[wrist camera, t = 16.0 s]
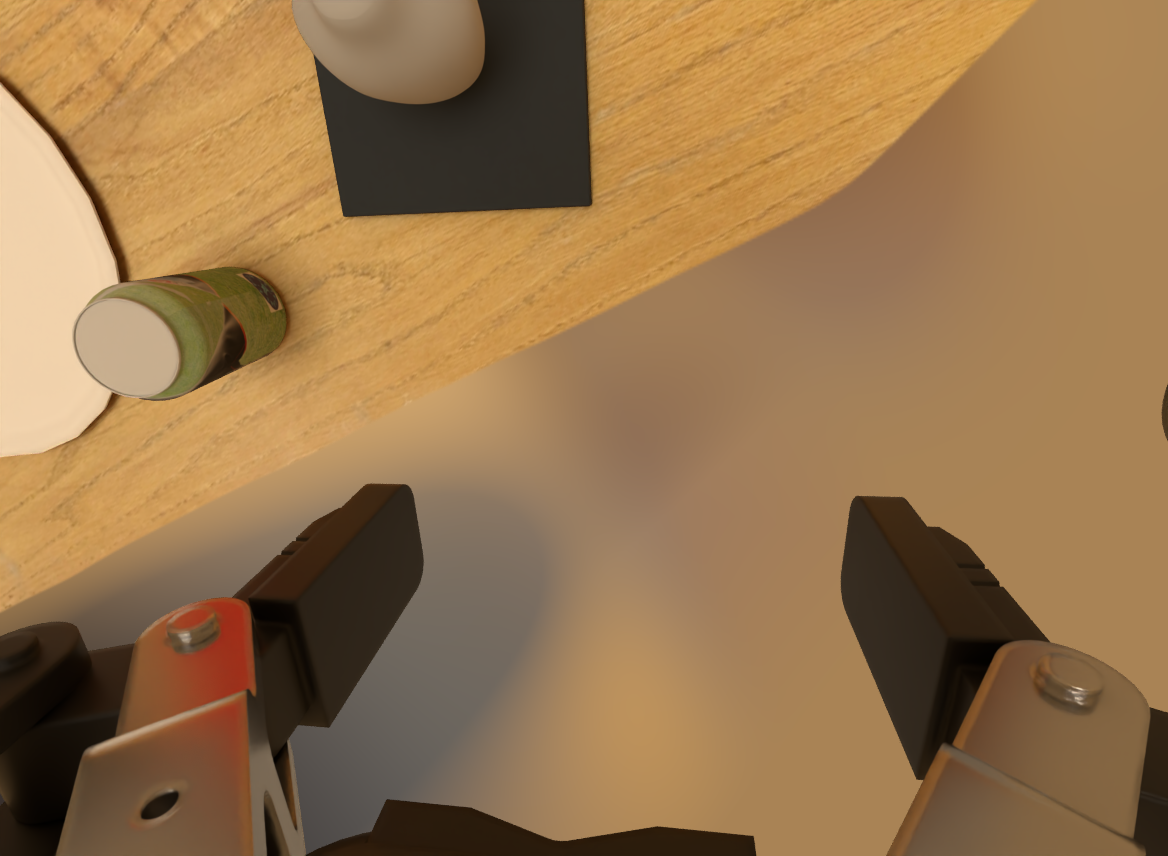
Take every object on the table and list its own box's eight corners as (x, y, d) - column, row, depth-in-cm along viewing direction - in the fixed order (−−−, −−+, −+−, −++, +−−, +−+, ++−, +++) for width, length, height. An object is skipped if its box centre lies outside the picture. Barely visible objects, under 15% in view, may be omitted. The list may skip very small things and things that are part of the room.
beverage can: (189, 289, 40) (7, 328, 29) (272, 239, 38) (112, 261, 27) (245, 372, 41) (95, 439, 30) (328, 328, 39) (200, 383, 28)
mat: (579, -122, 29) (577, -130, 28) (591, 205, 35) (590, 205, 34) (294, -89, 31) (285, -96, 30) (349, 216, 37) (342, 217, 36)
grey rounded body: (408, 133, 34) (286, 108, 23) (369, 28, 32) (216, -55, 21) (532, 84, 32) (465, 32, 21) (497, -29, 30) (405, -151, 19)
